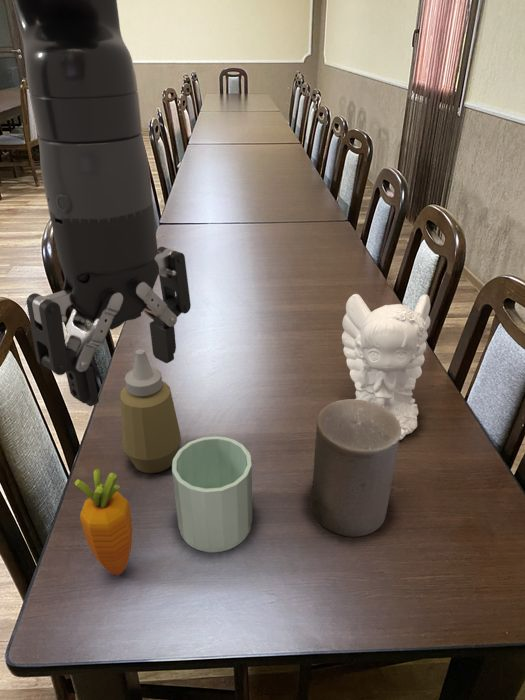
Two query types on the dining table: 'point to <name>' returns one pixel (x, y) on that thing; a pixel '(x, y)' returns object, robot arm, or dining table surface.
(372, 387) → the cherub figurine
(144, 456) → the squeeze bottle
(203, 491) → the tumbler
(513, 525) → the dining table surface
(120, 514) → the carrot
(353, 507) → the pillar candle
